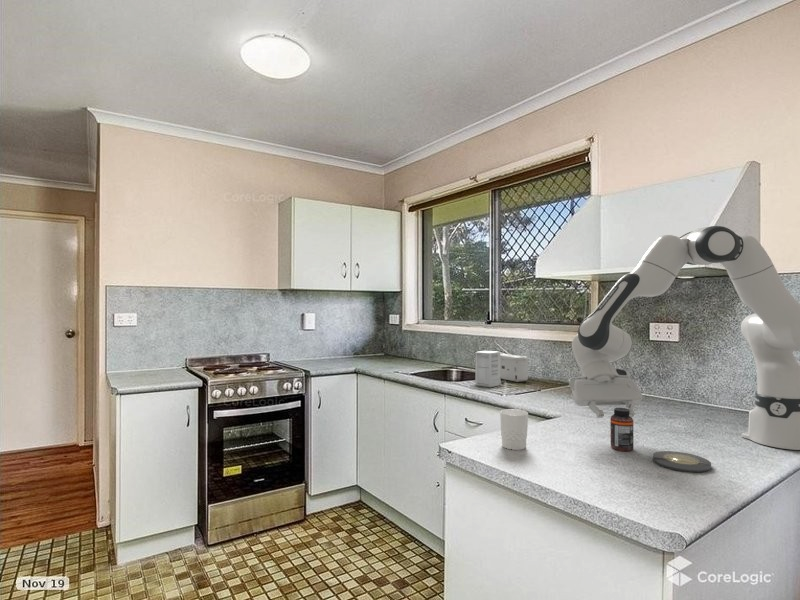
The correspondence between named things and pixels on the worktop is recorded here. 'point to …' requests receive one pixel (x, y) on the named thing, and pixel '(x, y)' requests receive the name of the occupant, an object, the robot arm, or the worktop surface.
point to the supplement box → (487, 368)
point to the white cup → (514, 428)
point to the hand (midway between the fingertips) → (616, 416)
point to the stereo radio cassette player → (513, 367)
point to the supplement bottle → (621, 430)
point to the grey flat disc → (681, 461)
